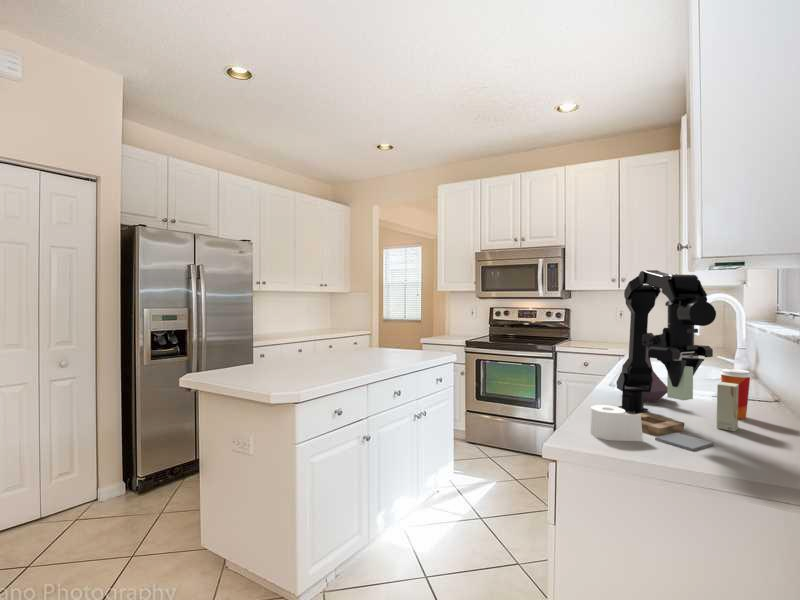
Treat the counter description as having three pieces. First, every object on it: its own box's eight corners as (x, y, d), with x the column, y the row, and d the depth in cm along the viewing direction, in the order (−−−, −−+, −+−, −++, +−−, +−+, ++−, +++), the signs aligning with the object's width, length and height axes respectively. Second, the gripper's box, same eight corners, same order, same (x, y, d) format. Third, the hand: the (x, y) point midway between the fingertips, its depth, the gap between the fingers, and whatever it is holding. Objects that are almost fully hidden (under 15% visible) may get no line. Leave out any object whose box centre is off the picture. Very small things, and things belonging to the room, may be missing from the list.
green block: (676, 396, 116) (676, 364, 116) (692, 399, 112) (693, 366, 112) (667, 397, 114) (667, 365, 114) (683, 400, 110) (683, 367, 110)
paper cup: (714, 412, 141) (715, 367, 141) (741, 413, 139) (743, 369, 139) (726, 419, 133) (727, 372, 133) (756, 421, 132) (757, 373, 131)
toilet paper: (643, 441, 112) (643, 413, 112) (597, 440, 113) (597, 412, 113) (628, 431, 121) (628, 405, 121) (585, 430, 121) (586, 404, 121)
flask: (660, 407, 147) (661, 346, 147) (609, 397, 159) (610, 341, 159) (677, 399, 158) (678, 342, 158) (628, 391, 170) (629, 338, 170)
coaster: (675, 434, 118) (675, 432, 118) (713, 445, 110) (713, 442, 110) (655, 439, 114) (655, 437, 114) (692, 451, 106) (692, 448, 106)
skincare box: (735, 432, 121) (736, 386, 121) (715, 428, 124) (716, 384, 124) (738, 426, 126) (739, 383, 125) (719, 423, 129) (720, 381, 128)
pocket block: (643, 419, 132) (643, 412, 132) (684, 430, 122) (684, 422, 122) (618, 424, 127) (618, 417, 126) (659, 436, 116) (659, 428, 116)
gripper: (670, 322, 125) (669, 378, 125) (627, 323, 116) (627, 383, 116) (714, 324, 115) (713, 385, 115) (671, 325, 106) (670, 391, 106)
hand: (680, 386), depth 113 cm, fingers closed on green block, 4 cm apart
